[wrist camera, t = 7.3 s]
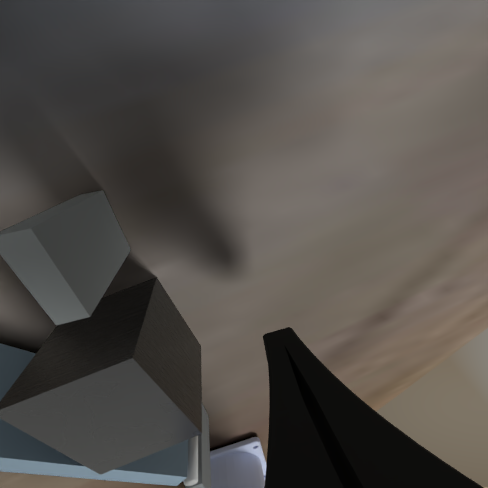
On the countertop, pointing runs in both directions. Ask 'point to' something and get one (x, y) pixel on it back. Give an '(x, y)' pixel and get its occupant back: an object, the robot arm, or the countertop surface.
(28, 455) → the pale blue stick
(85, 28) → the countertop surface
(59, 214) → the grey long flat piece
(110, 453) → the block
